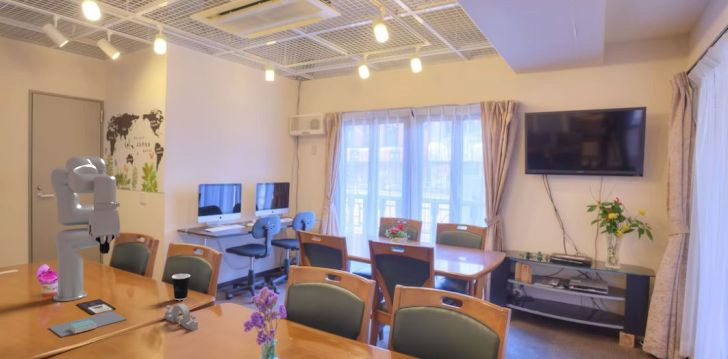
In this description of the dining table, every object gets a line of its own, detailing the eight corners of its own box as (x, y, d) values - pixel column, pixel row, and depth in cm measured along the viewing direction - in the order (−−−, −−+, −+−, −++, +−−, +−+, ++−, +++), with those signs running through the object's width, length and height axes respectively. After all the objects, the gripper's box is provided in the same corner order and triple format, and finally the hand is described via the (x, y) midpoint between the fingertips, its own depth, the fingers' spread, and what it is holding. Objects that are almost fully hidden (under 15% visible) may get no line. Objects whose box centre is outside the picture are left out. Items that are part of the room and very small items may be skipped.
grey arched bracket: (164, 319, 166) (164, 300, 166) (170, 318, 168) (170, 298, 168) (192, 332, 155) (192, 311, 154) (197, 330, 156) (198, 309, 156)
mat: (48, 328, 153) (48, 327, 153) (112, 312, 171) (112, 311, 171) (61, 337, 146) (61, 336, 146) (126, 319, 163) (126, 318, 163)
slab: (68, 329, 152) (74, 333, 148) (68, 324, 152) (74, 328, 148) (90, 323, 157) (96, 327, 154) (90, 319, 157) (96, 323, 154)
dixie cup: (171, 302, 184) (171, 278, 184) (171, 297, 192) (172, 274, 191) (190, 301, 187) (190, 277, 187) (190, 295, 195) (190, 273, 194)
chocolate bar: (99, 298, 186) (115, 308, 174) (99, 300, 186) (115, 310, 175) (76, 303, 178) (91, 313, 167) (76, 305, 178) (91, 316, 167)
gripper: (121, 205, 168) (120, 249, 169) (79, 207, 156) (79, 254, 157) (129, 206, 164) (129, 251, 165) (87, 209, 152) (86, 257, 153)
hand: (104, 253), depth 161 cm, fingers closed
